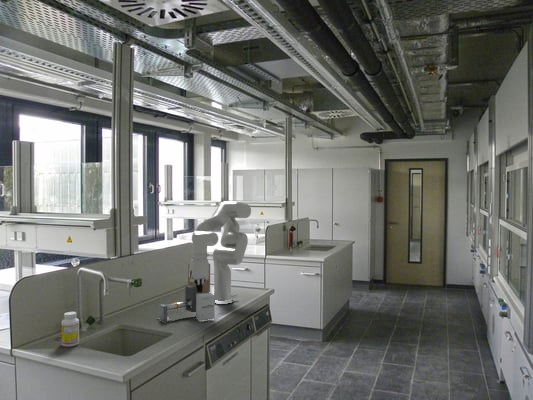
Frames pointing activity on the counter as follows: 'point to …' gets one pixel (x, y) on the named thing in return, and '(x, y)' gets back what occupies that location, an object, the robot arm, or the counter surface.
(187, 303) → the pipe rig
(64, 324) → the supplement bottle
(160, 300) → the counter surface
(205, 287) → the block
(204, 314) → the supplement box
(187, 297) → the grey upright panel
